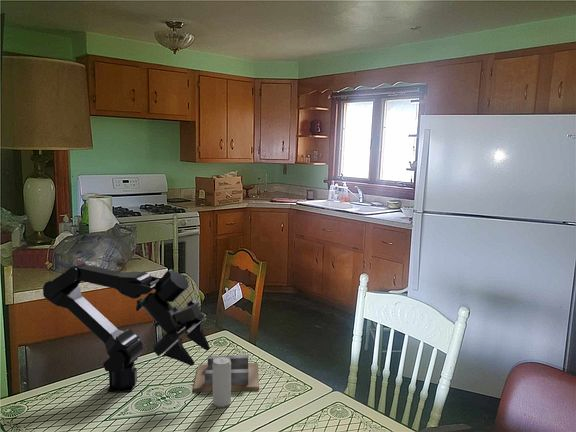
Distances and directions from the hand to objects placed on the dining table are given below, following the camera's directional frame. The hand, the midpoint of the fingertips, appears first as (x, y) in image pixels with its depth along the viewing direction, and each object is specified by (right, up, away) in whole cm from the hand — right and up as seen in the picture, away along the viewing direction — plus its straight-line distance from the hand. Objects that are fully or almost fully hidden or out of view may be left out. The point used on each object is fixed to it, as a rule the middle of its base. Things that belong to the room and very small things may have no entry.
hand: (201, 356), depth 122 cm
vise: (+5, -10, +13) cm, 18 cm away
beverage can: (+5, -12, 0) cm, 14 cm away
